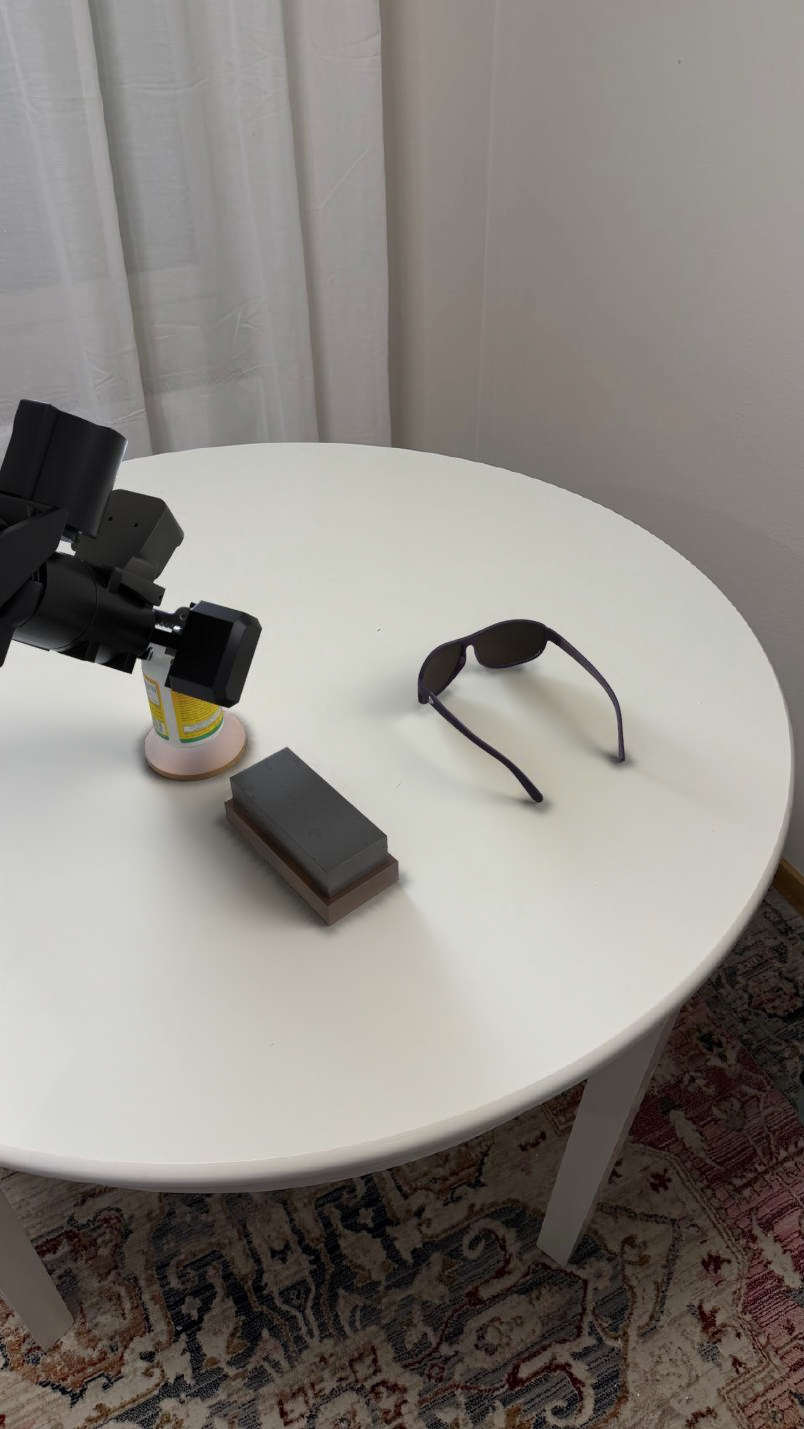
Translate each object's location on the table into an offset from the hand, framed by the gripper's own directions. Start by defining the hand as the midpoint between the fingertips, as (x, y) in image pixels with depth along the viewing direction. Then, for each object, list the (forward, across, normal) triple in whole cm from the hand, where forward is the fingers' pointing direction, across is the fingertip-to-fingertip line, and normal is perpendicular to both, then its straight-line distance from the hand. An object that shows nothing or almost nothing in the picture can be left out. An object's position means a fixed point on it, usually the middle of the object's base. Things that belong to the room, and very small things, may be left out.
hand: (188, 651), depth 75 cm
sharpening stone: (+1, -14, +11) cm, 18 cm away
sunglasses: (+15, -23, -2) cm, 27 cm away
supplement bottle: (+4, 0, +6) cm, 7 cm away
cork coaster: (+5, 0, +7) cm, 9 cm away
